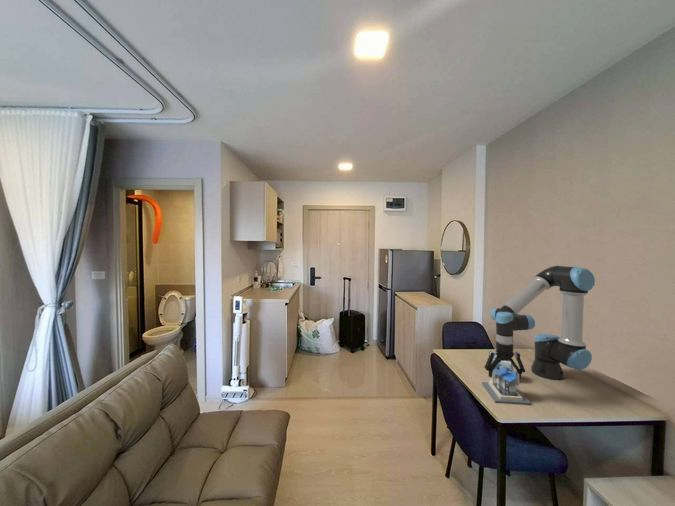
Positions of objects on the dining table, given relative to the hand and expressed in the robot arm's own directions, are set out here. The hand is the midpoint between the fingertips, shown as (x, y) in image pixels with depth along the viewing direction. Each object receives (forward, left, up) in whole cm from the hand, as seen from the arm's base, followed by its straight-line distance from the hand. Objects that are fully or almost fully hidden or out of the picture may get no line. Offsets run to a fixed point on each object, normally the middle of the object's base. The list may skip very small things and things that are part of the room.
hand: (504, 384), depth 140 cm
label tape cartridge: (0, +1, -4) cm, 4 cm away
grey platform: (0, 0, -5) cm, 5 cm away
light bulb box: (-6, -18, -5) cm, 20 cm away
